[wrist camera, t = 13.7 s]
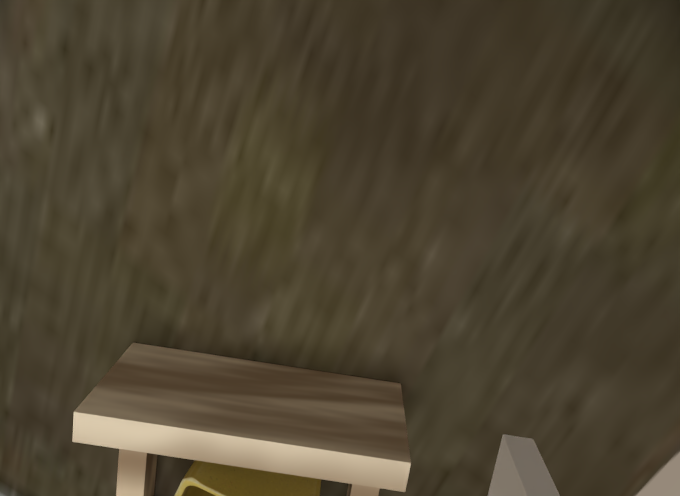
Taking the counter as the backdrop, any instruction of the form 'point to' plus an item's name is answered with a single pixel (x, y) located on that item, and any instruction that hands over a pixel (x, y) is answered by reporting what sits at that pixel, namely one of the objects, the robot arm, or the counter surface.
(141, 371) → the board
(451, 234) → the counter surface
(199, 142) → the counter surface
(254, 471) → the flower pot
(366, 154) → the counter surface
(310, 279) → the counter surface
